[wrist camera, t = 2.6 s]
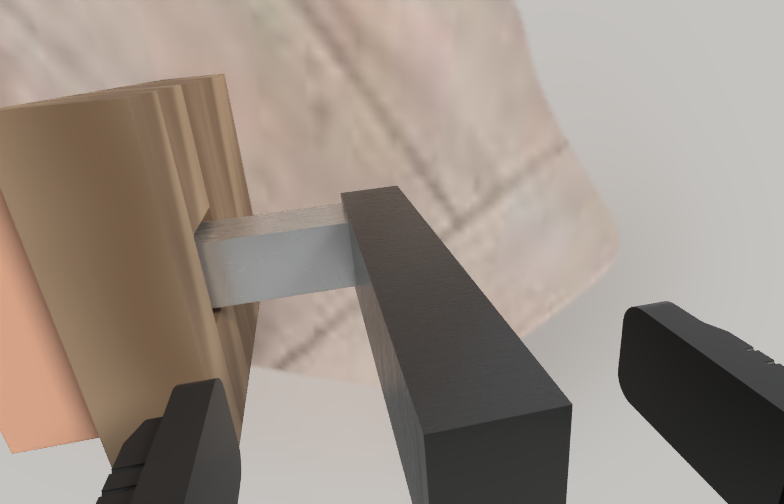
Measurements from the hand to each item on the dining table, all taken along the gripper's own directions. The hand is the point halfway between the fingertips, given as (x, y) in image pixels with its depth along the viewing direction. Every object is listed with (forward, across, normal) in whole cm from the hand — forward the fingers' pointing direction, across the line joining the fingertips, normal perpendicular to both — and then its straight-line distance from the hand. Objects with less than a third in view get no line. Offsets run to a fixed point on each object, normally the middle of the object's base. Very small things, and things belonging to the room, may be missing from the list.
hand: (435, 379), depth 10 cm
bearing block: (+20, +7, 0) cm, 21 cm away
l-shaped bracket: (+9, +6, 0) cm, 11 cm away
